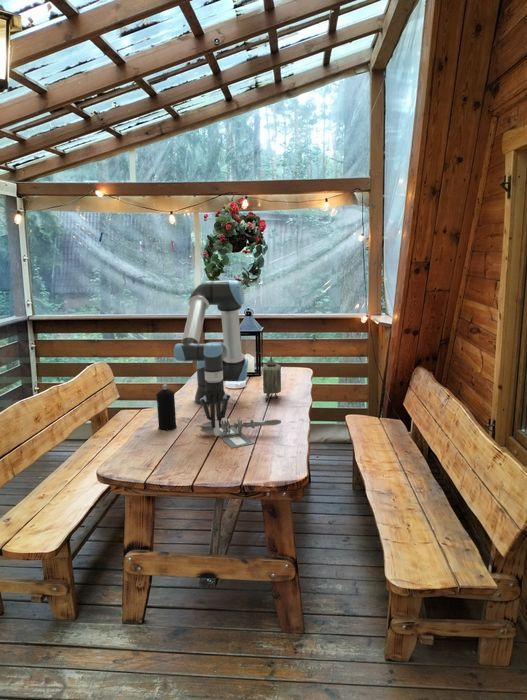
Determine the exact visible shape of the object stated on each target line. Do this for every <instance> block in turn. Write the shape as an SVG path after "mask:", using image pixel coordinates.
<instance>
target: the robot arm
mask: <svg viewBox="0 0 527 700" xmlns="http://www.w3.org/2000/svg"><path fill="white" fill-rule="evenodd" d="M243 288H244V287H243V285H242V283H241V282H240V281H239V280H233V279H229V280H228V279H227V280H207V281H204V282H202V283H200V284H199V285H197V287H195V288H194V290H193V291H192V292H191V294H190V295H189V296H190V297H189V299H188V305H189V310H188V313H187V317H186V318H187V319H186V322H185V326H184V330H183V334H182V339H181V343H176V344H175V345H174V347H173V357H174V359H175V361H177V362H196V377H197V378H196V379H197V380H196V381H197V388H196V391H195V394H194V395H195V396H194V402H195V403H197V404H199V405H202V407H203V411H204V413H205V417H206V419H207V420H209V421H211V426H212V428H214V434H213V435H214V436H215V437H219V427H221V424H222V420H223V419H226V414H227V409H228V403H229V400H230V398H231V395H230V394H228V393H226V391H225V390H224V389H225V388H224V386H225V385H224V382H237V383H238V382H245V381H246V380H247V376H248V369H249V359H248V358H246V355H245V354H244V353H243V352H242V342H241V341H242V340H241V330H240V329H241V327H240V326H241V325H240V315H239V314H240V313H239V311H240V310H241V309H242V306H243V305H244V303H245V295H244V293H245V292H244V289H243ZM210 306H217V310H218V311H219V312H220V314H221V315H220V317H221V325H222V327H221V328H222V338H223V342H221V341H214V342H207V343H200V341H201V335H202V331H203V326H204V321H205V317H206V311H207V310H208V309H209V307H210ZM208 405H209V406H208ZM209 408H210V410H209Z"/></svg>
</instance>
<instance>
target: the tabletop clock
mask: <svg viewBox="0 0 527 700" xmlns="http://www.w3.org/2000/svg"><path fill="white" fill-rule="evenodd" d="M272 356H273V353H272V351H270V357H269V360H268V361H267V362H266V363H263V366H262V388H263V391H262V392H263V393H262V394H263V395H264V394H266V395H267V397H266V398H265V401H266V402H268V401H269V398H270V396H271V394H274V398H276V399H277V398H278V397H279V396H278V395H277V394H279V393H281V392H282V373H281V372H282V370H281V368H282V366H281V365H280V364H278V363H277V362H276V361H275V360H273V357H272Z"/></svg>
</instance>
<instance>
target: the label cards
mask: <svg viewBox="0 0 527 700" xmlns="http://www.w3.org/2000/svg"><path fill="white" fill-rule="evenodd" d="M225 432H226V430H225ZM225 432H224V434H223V430H222V428H219V436H218V437H219V438H221V440H222V441H223V442H224V443H225V444H226V445H227V446H228V447H229V448H230V449H236V448H240V447H241V448H242V447H246V446H251V445H255V442H254V441H252V440H251V439H250V438H249V437H247V436H246V435H245V434H243V433H241V434H240V433H239V431H238V428H237V429H235V427H231V429H230V433H228V432H227V434H225Z"/></svg>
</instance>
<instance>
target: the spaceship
mask: <svg viewBox="0 0 527 700" xmlns="http://www.w3.org/2000/svg"><path fill="white" fill-rule="evenodd" d="M281 423H282V421H281V420H279V419H267V420H254V419H250V420H246V421H244V422H243V420H242V418H241V416H240V415H238V416H237V421H235V422H233V424H231V422H230V418H222V420H221V427H219V428H222V430H223V434H224V432H225V430H226V432H225V434H227V432H228V433H230V429H231V427H235V429H238V431H239V433H240V434H239V435H242V434H243V433H242V432H243V427H244V428H246V429H247V428H251V429H255V428H257V427H259V426H260V427H263V426H264V427H265V426H277V425H280V424H281ZM199 429H200V432H204V433H207V434H211V435H214V428H212V426H211V420H209V421H208V422H205V423H203V424H201V425H200V426H199ZM241 433H242V434H241Z"/></svg>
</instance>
